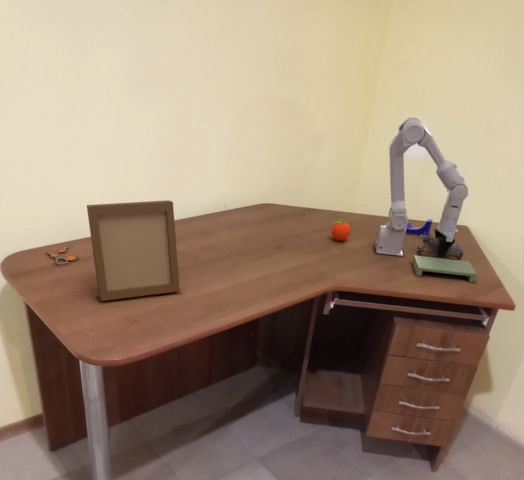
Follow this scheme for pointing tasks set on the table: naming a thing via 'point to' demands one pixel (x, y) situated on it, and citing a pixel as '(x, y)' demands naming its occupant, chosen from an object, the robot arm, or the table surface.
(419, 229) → the blue curved piece
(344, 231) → the red tomato
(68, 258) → the key chain
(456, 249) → the bird
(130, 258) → the photo frame
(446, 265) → the shelf
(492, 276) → the table surface
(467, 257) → the table surface
